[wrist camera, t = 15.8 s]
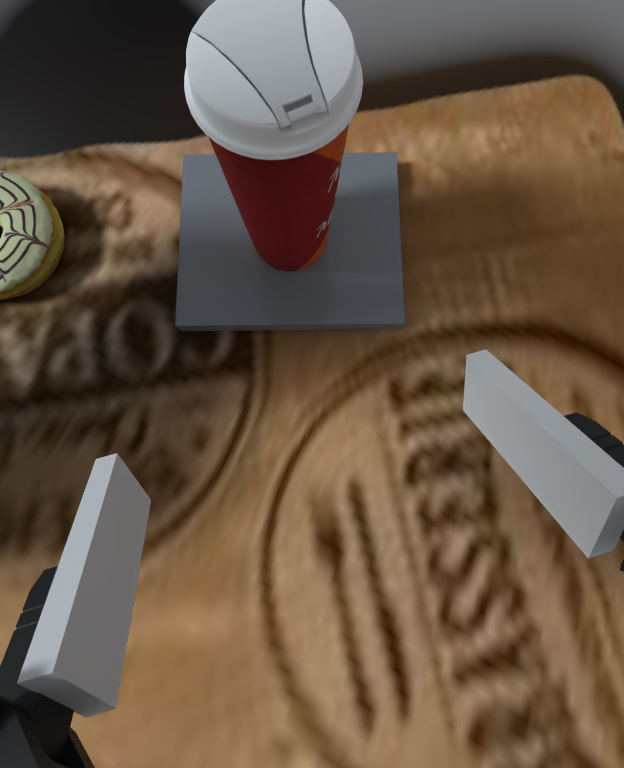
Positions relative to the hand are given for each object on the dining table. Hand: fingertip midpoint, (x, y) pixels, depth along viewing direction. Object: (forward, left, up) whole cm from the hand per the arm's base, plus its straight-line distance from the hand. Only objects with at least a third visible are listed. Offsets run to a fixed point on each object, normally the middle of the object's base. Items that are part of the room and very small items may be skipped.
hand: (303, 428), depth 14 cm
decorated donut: (-25, +16, -16) cm, 34 cm away
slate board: (-1, +16, -16) cm, 23 cm away
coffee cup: (-1, +16, -14) cm, 22 cm away
